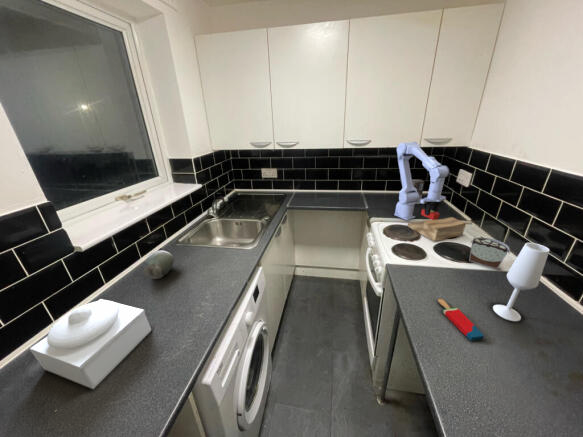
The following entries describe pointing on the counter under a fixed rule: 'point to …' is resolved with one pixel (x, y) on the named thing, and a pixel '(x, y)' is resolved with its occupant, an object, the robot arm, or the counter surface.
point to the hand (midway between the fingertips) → (429, 214)
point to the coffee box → (418, 188)
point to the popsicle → (461, 322)
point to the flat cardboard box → (439, 228)
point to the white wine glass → (523, 276)
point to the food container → (488, 252)
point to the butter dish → (91, 341)
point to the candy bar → (431, 214)
